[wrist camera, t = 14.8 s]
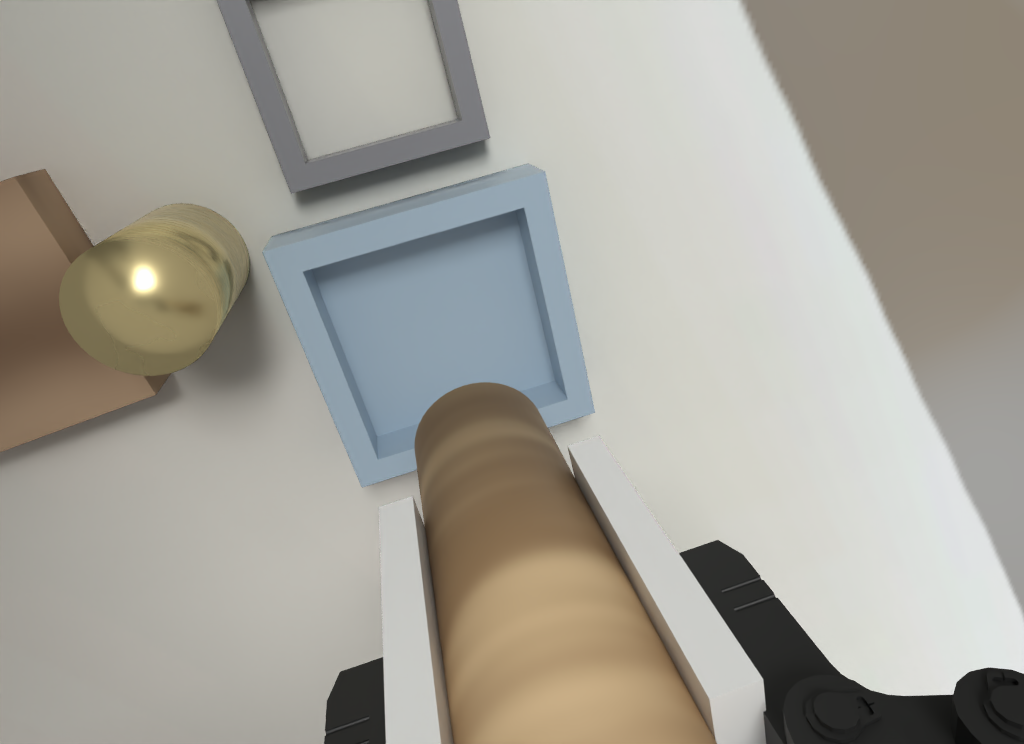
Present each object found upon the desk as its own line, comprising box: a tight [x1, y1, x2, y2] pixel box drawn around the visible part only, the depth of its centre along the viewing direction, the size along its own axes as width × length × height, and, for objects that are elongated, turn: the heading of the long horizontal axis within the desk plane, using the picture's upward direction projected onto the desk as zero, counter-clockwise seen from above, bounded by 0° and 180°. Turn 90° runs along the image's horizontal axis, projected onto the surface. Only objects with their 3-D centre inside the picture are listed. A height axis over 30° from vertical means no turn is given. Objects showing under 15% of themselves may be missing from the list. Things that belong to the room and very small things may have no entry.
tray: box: [262, 164, 595, 487], centre depth 25 cm, size 10×10×2 cm
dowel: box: [414, 382, 717, 744], centre depth 11 cm, size 4×4×14 cm
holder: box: [217, 0, 490, 193], centre depth 21 cm, size 7×7×1 cm
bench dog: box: [59, 203, 250, 376], centre depth 21 cm, size 4×4×6 cm
